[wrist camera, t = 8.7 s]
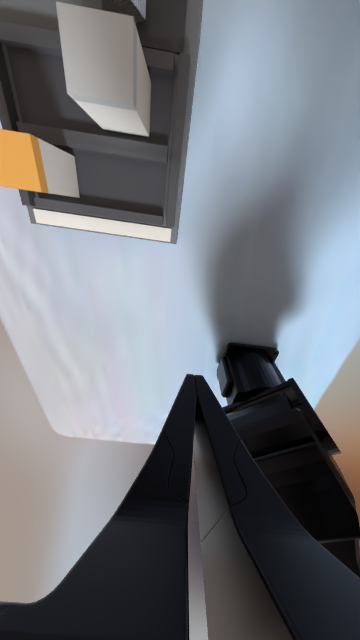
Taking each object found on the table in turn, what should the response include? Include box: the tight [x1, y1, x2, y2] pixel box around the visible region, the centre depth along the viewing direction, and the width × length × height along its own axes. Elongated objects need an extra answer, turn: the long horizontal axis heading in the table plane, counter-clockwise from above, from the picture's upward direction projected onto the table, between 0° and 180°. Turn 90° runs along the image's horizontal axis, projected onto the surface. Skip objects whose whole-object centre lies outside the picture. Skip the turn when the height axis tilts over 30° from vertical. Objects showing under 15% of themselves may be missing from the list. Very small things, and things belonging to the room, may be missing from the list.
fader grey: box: [56, 2, 151, 137], centre depth 10 cm, size 3×2×4 cm
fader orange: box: [0, 129, 80, 198], centre depth 11 cm, size 3×2×4 cm
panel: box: [0, 0, 203, 244], centre depth 13 cm, size 12×12×3 cm
